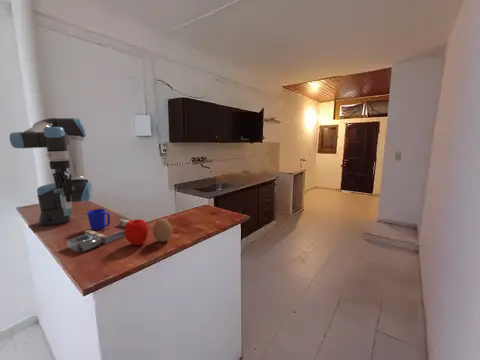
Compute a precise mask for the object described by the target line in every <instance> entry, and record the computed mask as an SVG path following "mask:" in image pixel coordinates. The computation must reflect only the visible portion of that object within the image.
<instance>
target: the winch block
mask: <svg viewBox="0 0 480 360" xmlns="http://www.w3.org/2000/svg"><path fill="white" fill-rule="evenodd" d="M101 244H102V242H100V239H99V238H98V237H96V236H94V235H91V234H88V233H87V234H86V233H84V234H82V235H78V236H77V237H76V236H75V237H73V238H70V239H67V240H66V246H67V248H68V249H69V250H72V251H74V252H76V253H79V252H82V253H85V252H87V251H89V250H92V249H95V248H97V247H99V246H101Z"/></svg>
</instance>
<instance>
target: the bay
mask: <svg viewBox="0 0 480 360" xmlns="http://www.w3.org/2000/svg"><path fill="white" fill-rule="evenodd" d="M129 221H130V220H128V219H124V218H120V219H119V220H118V223H119V226H122V227H125V226H126V224H127V223H128V222H129ZM124 231H125V229H123V230H119V231H117V232H113V233H111V234H109V235H106V234H103V233H100V232H97V231H95V230H92V229H88V230H85V231H84V234H87V233H88V234H91V235H94V236H96V237H98V238H99V239H100V242H101V244H105V245H106V244H110V243H113V242H115V241H118V240H120V239H122V238H124V237H125V235H124ZM125 238H126V237H125Z"/></svg>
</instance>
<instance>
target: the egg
mask: <svg viewBox="0 0 480 360" xmlns="http://www.w3.org/2000/svg"><path fill="white" fill-rule="evenodd" d="M172 230H173V229H172V226H171V224H170V222H169V220H167V219H166V218H164V217H163V218H159V219H158V220H156V221H155V223H154V224H153V230H152V234H153V237H154V238H155V239H156V241H158V242H161V243H163V242H167V241H169V239H170V238H171V236H172V232H173V231H172Z"/></svg>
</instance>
